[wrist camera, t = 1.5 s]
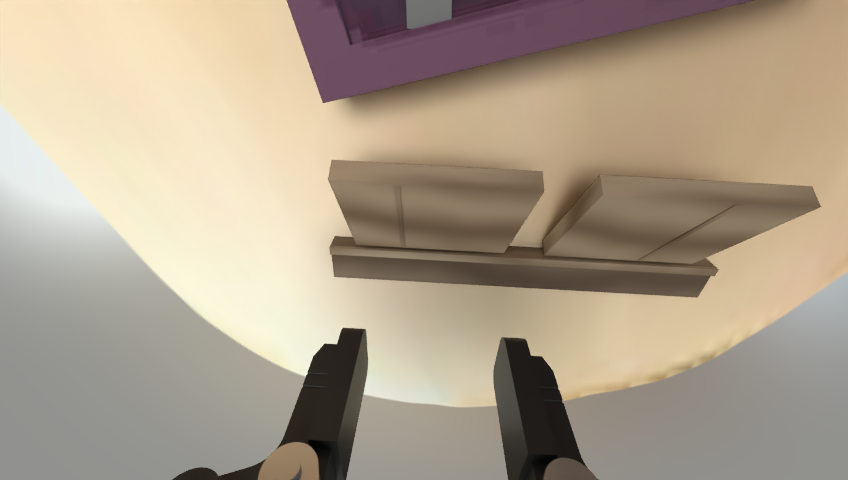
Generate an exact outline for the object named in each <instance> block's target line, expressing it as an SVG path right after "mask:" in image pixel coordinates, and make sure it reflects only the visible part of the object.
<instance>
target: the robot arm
mask: <svg viewBox="0 0 848 480" xmlns="http://www.w3.org/2000/svg"><path fill="white" fill-rule="evenodd" d="M367 368H368V353H367V337H366V329H354V328H343V329H342V330H341V333H340V336H339V340H338V343H337V344H324V345H323V346H322V347H321V349H320V350H319V351H318V352H317V353H316V354H315V355H314V356H313V359H312V362H311V364H310V367H309V370H308V374H307V375H306V378H305V381H304V384H303V388H302V389H301V392H300V394H299V397H298V400H297V403H296V405H295V408H294V411H293V413H292V416H291V419H290V422H289V424H288V427H287V430H286V432H285V435H284V437H283V440H282V441H281V443H280V445H279V446H278V448H277V449H276V450H275V451H274V452H272V453H271V454H270V455H269V456H268V458H266V459H265V460H264V461H262V462H261V463H258V464H256V465H254V466H252V467H249V468H245V469H242V470H238V471H235V472H232V473H228V474H224V475H221V476H218V475H217V474H216V472H215V471H213V470H211V469H208V468H202V467H201V468H194V469H191V470H188V471H186V472H184V473H182V474H180V475H178V476H177V477H176V478H174V479H173V480H346V477H347V472H348V467H349V462H350V457H351V452H352V447H353V442H354V437H355V432H356V427H357V422H358V417H359V412H360V407H361V402H362V397H363V392H364V387H365V382H366V376H367ZM494 389H495V396H496V402H497V408H498V415H499V422H500V428H501V435H502V442H503V448H504V455H505V461H506V468H507V475H508V480H598V479H597V478H596V477H595V476H594V474H593V473H592V472H591V471H590V470H589V469H588V468H587V466H586V465H585V463H584V462H583V460H582V458H581V455H580V453H579V450H578V447H577V443H576V440H575V437H574V434H573V431H572V428H571V425H570V422H569V419H568V416H567V413H566V410H565V406H564V404H563V403H562V397H561V394H560V391H559V390H558V385H557V382H556V379H555V376H554V373H553V370H552V369H551V368H550V366H549V365H548V364H547V363H546V361H545V360H544V359H543V357H540V356H531V355H530V351H529V348H528V344H527V341H526V340H525V339H522V338H505V337H502V338H501V340H500V344H499V349H498V353H497V357H496V361H495V366H494Z"/></svg>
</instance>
